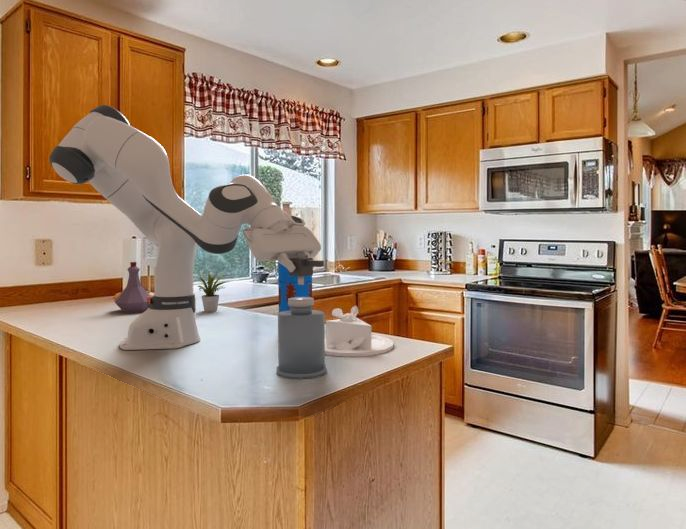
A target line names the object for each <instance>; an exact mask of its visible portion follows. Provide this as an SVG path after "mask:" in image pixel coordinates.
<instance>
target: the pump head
mask: <svg viewBox="0 0 686 529" xmlns="http://www.w3.org/2000/svg"><path fill="white" fill-rule="evenodd" d="M289 260H291V261H292V262H295V263H296V265H297V266H298V269H297V270H296V272H289V275H290V276H298V285H304V276H309V275H312V276H313V275H314V268H315V267H316V268H323V267H325V260H322V259H321V260H320V259H314V257H313V258H301V257H300V258H289Z"/></svg>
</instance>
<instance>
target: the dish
mask: <svg viewBox="0 0 686 529" xmlns="http://www.w3.org/2000/svg"><path fill="white" fill-rule="evenodd" d="M358 314H359V308H358V306H357V305H354V306H352V308H350V313H348V312H347V313H343V310H342V308H338V307H337V308H334V309H332V311H331V316H333V317H336V318H338V319H331V320H326V321H325V354H326V356H327V355H328V356H333V355H334V356H335V357H336V356H337V357H368V355H369V356H375V354H376V355H380V353H381V354H385V353H388V352H389V350H390V351H391V349H392V348H394V347H393V346H395V342H394V341H393V340H392V338H388V337H386V336H383V335H377V334H373V333H372V331H373V330H372V325H370V324H369V323H367V322H366V321H364V320H362V319H360V318H358V317H357V315H358ZM392 350H393V349H392ZM387 351H388V352H387Z"/></svg>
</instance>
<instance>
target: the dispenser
mask: <svg viewBox="0 0 686 529" xmlns="http://www.w3.org/2000/svg"><path fill="white" fill-rule="evenodd" d="M288 305H289V306H291V310H288V311H283V312H280V313H279V312H278V313H277V339H278V340H277V345H278V346H277V348H278V351H277V352H278V353H277V354H278V358H277V359H278V365H277V366H276V372H275V373H276V375H278V376H279V377H281V378H284V379H291V380H307V379H314V378H318V377H322V376H325V374H327V372H328V366H327V365H326V360H325V357H326V356H325V335H326V321H325V318H326V317H325V314H326V313H325V312H324V311H321V310H316V309H313V306H315V298H314V297H312V298H311V297H293V298H289V299H288Z"/></svg>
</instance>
